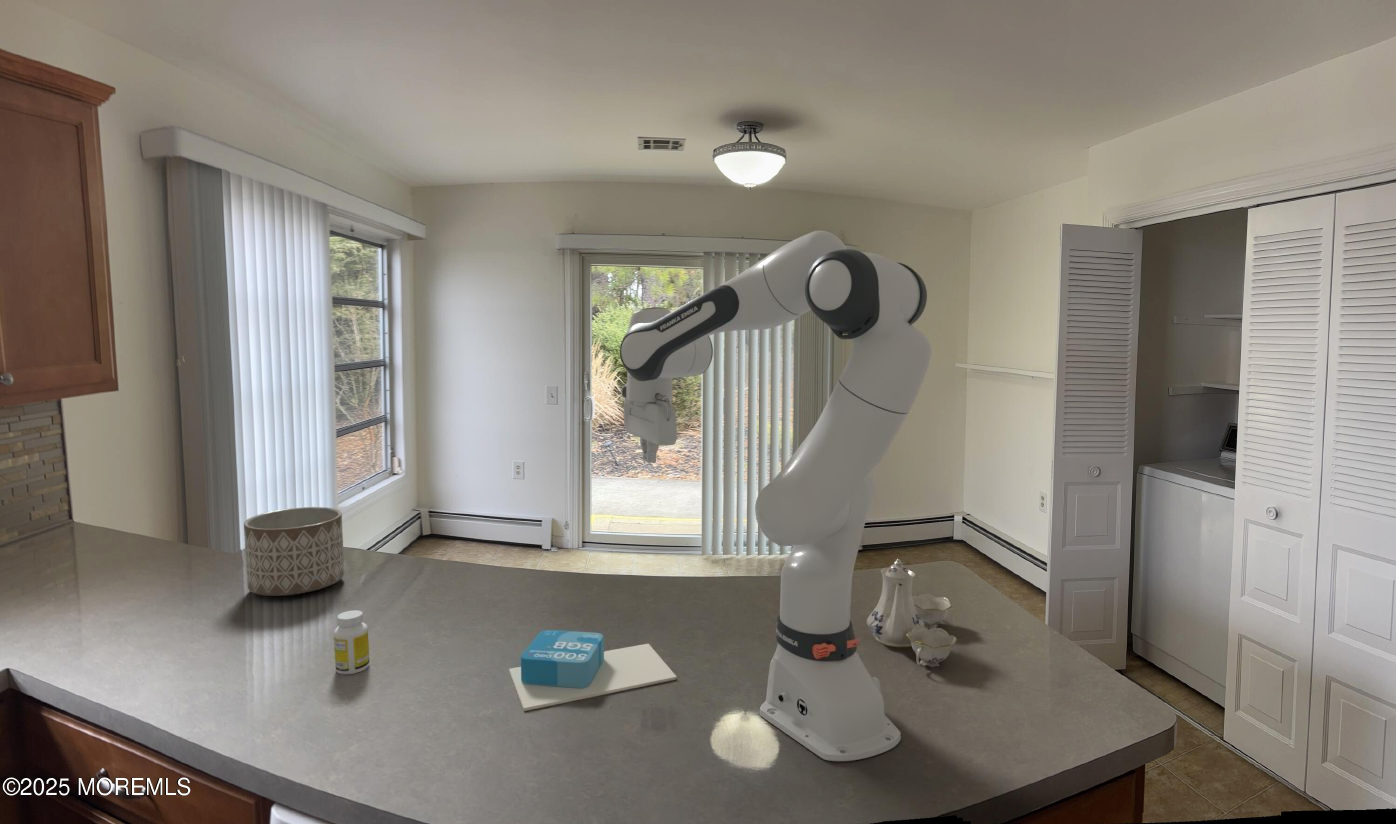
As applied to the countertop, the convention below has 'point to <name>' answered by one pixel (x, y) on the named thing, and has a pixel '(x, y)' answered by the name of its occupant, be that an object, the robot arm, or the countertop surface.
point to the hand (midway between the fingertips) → (649, 461)
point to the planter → (294, 550)
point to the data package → (562, 659)
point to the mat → (600, 678)
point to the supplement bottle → (351, 643)
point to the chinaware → (910, 618)
